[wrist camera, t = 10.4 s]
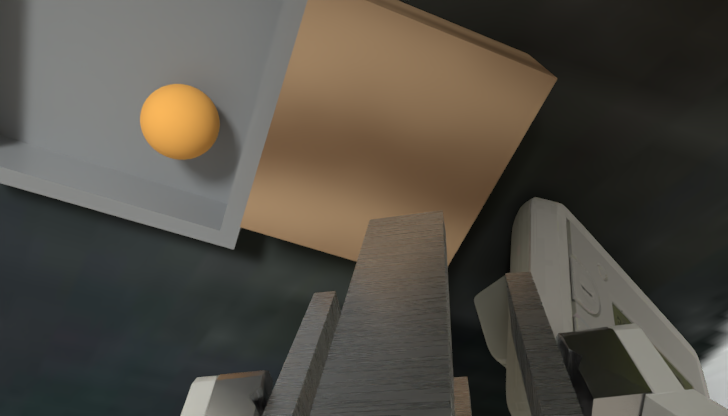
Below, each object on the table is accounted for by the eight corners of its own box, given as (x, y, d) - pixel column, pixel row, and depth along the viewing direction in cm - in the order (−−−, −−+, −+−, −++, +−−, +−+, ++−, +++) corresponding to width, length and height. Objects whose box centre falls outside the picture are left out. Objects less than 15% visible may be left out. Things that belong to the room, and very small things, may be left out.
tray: (-27, -250, 15) (-88, -276, 13) (338, -90, 18) (335, -90, 16) (-19, 141, 22) (-60, 166, 20) (244, 219, 24) (233, 249, 22)
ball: (157, 58, 18) (233, 97, 19) (166, 83, 21) (231, 116, 22) (118, 129, 18) (197, 166, 18) (133, 145, 21) (201, 176, 21)
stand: (320, -32, 19) (313, -21, 16) (528, 53, 20) (557, 78, 17) (254, 186, 23) (239, 227, 20) (427, 240, 25) (437, 285, 22)
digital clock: (691, 354, 30) (838, 549, 21) (551, 408, 32) (628, 604, 23) (601, 149, 23) (766, 307, 14) (430, 238, 25) (473, 424, 16)
